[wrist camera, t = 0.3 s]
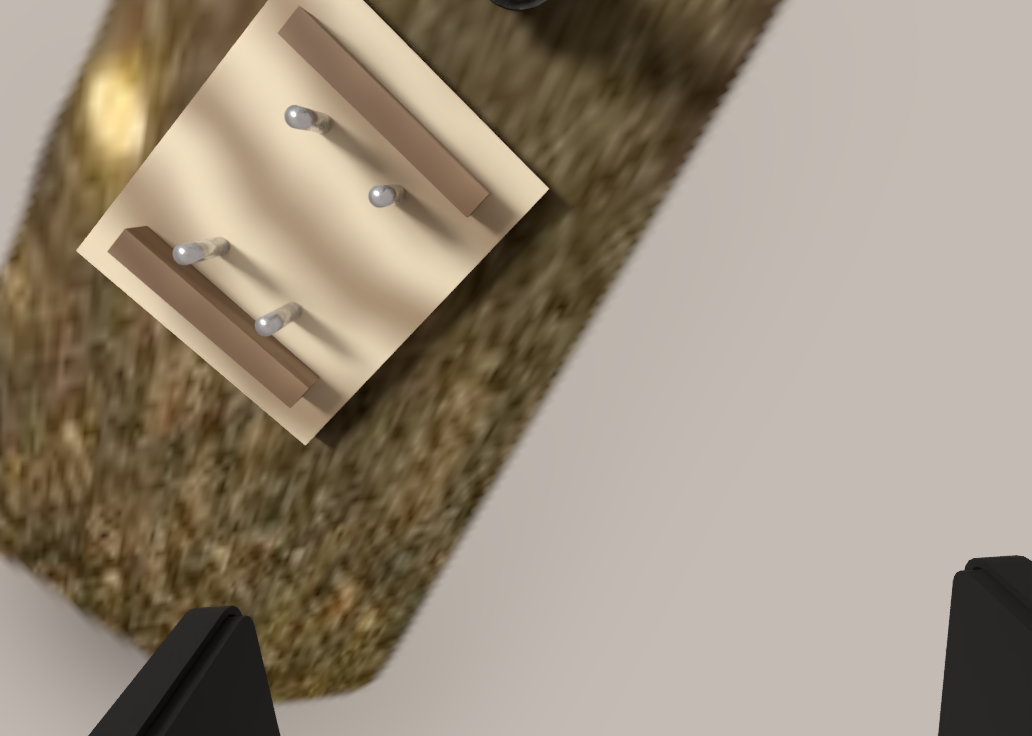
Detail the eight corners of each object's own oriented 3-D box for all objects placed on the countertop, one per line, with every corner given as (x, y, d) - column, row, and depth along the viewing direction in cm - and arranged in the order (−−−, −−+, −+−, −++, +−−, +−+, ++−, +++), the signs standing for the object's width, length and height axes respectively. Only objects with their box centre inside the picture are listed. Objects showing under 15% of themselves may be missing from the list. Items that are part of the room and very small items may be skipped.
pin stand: (319, -45, 34) (278, -86, 28) (548, 188, 36) (550, 190, 31) (93, 248, 38) (21, 259, 33) (313, 435, 41) (280, 475, 35)
